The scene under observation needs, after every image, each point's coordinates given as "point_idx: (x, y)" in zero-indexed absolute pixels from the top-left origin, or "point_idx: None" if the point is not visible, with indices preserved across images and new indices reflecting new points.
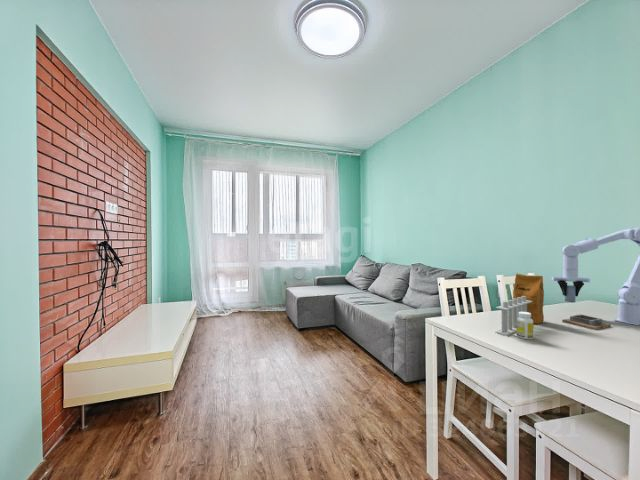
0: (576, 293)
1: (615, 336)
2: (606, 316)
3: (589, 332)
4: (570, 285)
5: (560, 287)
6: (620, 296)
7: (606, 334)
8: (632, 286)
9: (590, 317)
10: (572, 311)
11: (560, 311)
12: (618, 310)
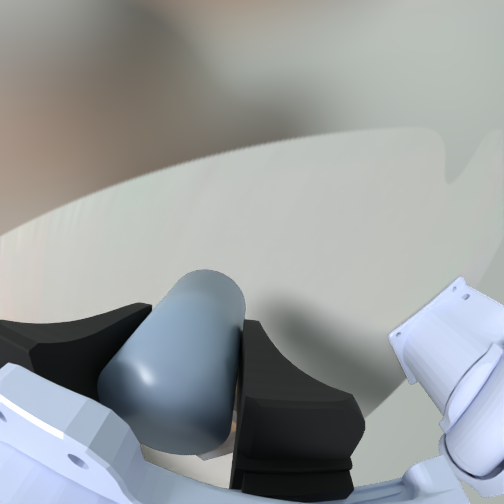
0: (237, 384)
1: (229, 481)
2: (418, 251)
3: (177, 464)
4: (176, 393)
5: (75, 325)
6: (487, 393)
7: (215, 473)
8: (486, 497)
9: (235, 422)
10: (302, 154)
11: (218, 171)
12: (432, 354)
